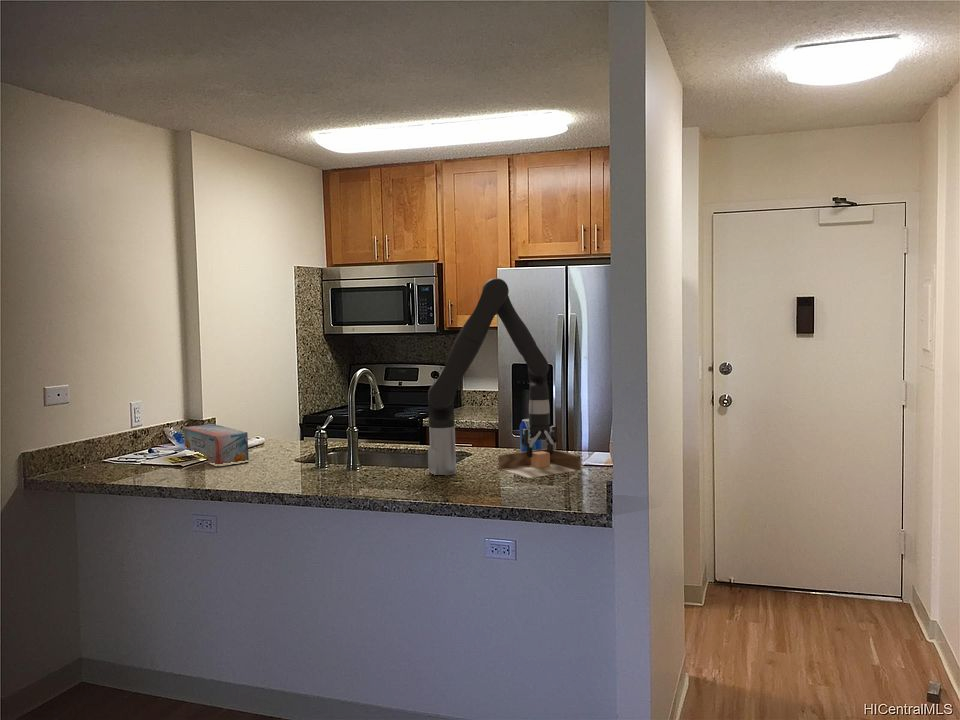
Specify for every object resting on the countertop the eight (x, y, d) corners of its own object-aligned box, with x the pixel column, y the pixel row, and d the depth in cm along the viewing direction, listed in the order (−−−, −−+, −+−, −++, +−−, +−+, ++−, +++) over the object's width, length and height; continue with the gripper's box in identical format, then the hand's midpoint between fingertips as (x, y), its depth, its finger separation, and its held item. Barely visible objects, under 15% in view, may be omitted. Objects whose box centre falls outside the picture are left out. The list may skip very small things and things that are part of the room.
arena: (528, 480, 275) (528, 463, 275) (498, 471, 293) (498, 454, 292) (580, 472, 286) (580, 455, 285) (548, 463, 303) (548, 448, 303)
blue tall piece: (542, 462, 306) (541, 421, 305) (520, 463, 306) (519, 421, 305) (541, 458, 314) (540, 418, 313) (520, 459, 314) (519, 418, 313)
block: (538, 468, 290) (538, 454, 290) (531, 466, 295) (530, 452, 294) (550, 466, 293) (549, 452, 292) (542, 464, 297) (542, 451, 297)
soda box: (251, 463, 324) (249, 431, 323) (216, 468, 315) (215, 436, 314) (215, 451, 356) (213, 422, 355) (183, 455, 347) (181, 425, 346)
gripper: (528, 414, 286) (529, 459, 287) (561, 411, 293) (561, 455, 294) (517, 412, 292) (517, 456, 293) (549, 409, 299) (550, 452, 300)
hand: (539, 455), depth 293 cm, fingers open, 8 cm apart
